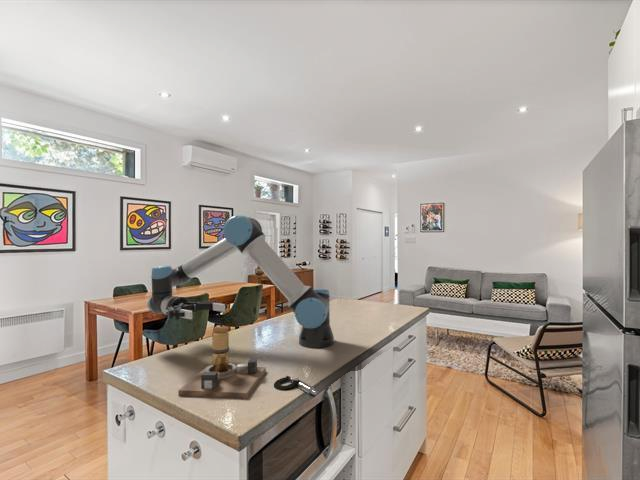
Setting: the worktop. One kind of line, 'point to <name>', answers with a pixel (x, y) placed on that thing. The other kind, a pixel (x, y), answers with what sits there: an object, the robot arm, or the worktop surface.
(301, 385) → the micrometer
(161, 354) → the worktop surface
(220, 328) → the coupling
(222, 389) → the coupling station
